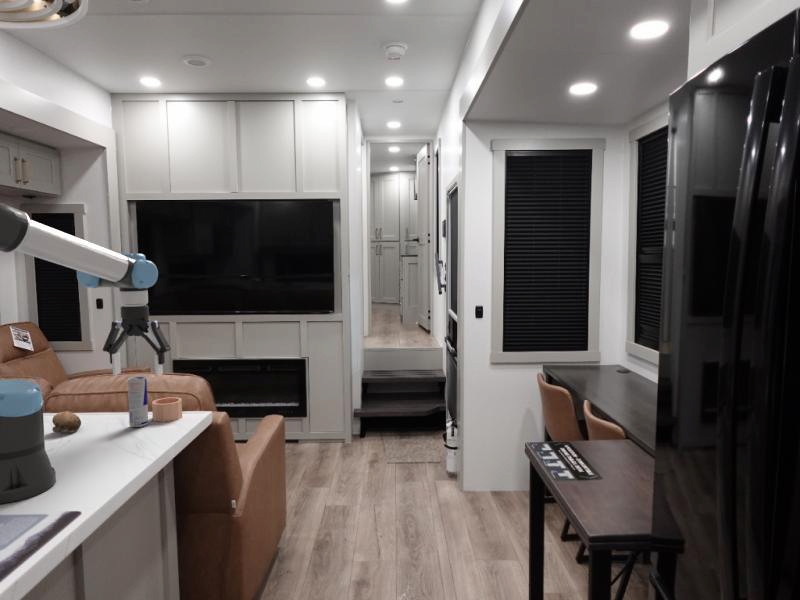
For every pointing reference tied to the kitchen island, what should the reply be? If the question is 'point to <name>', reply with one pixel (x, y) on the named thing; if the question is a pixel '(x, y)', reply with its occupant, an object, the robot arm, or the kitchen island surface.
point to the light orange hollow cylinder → (167, 409)
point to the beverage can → (138, 401)
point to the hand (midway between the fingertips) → (138, 374)
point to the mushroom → (66, 422)
